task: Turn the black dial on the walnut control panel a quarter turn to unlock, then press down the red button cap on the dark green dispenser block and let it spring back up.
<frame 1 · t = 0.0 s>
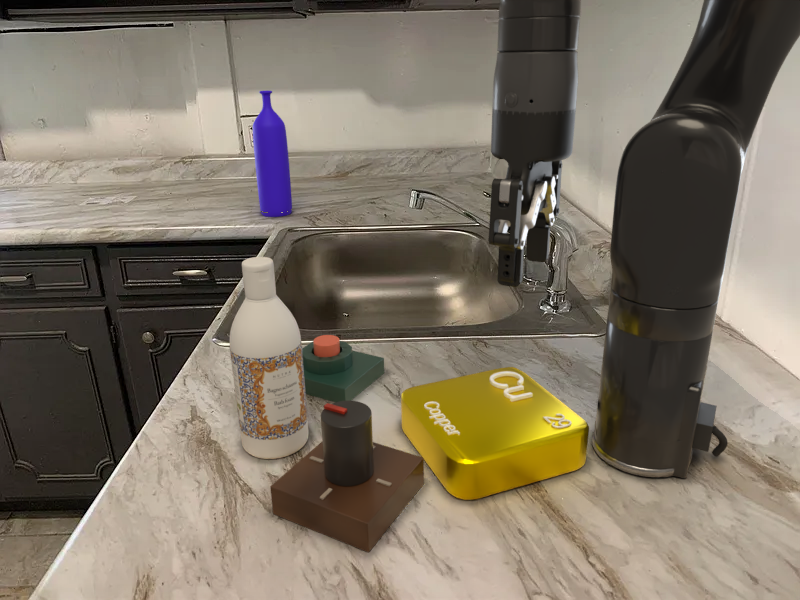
hand: (524, 272, 64), 17 cm above the worktop, tool pointing down, fingers open, 8 cm apart
element tile: (489, 445, 66), on the worktop
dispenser: (328, 378, 79), on the worktop
dial panel: (350, 498, 58), on the worktop
bottle: (276, 214, 163), on the worktop
bath foam: (276, 443, 67), on the worktop
red button cap: (326, 346, 78), point 4 cm above the worktop, slide at 0.1 cm
dial: (347, 441, 56), point 6 cm above the worktop, hinge at 0.0°
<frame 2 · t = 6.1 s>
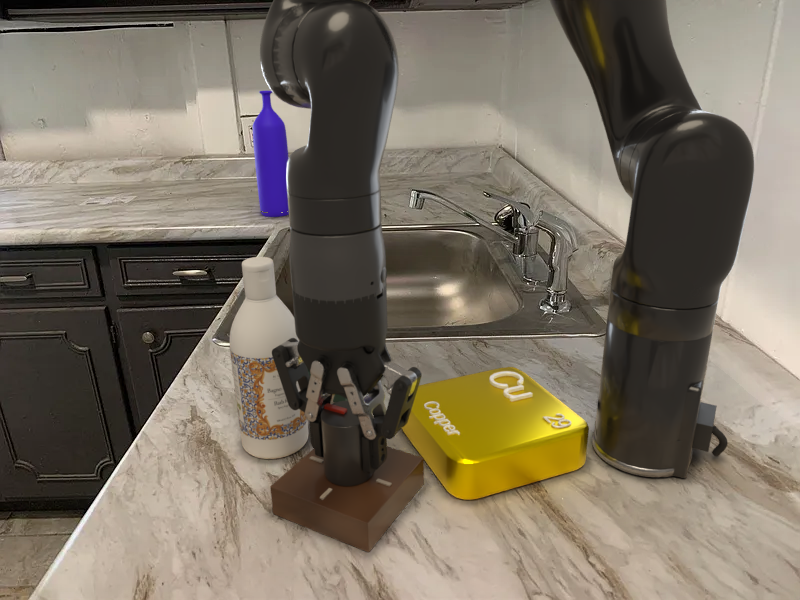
hand: (349, 459, 56), 4 cm above the worktop, tool pointing down, fingers closed on dial, 4 cm apart
dial: (347, 441, 56), point 6 cm above the worktop, hinge at 0.1°, touching gripper
everything else where it was.
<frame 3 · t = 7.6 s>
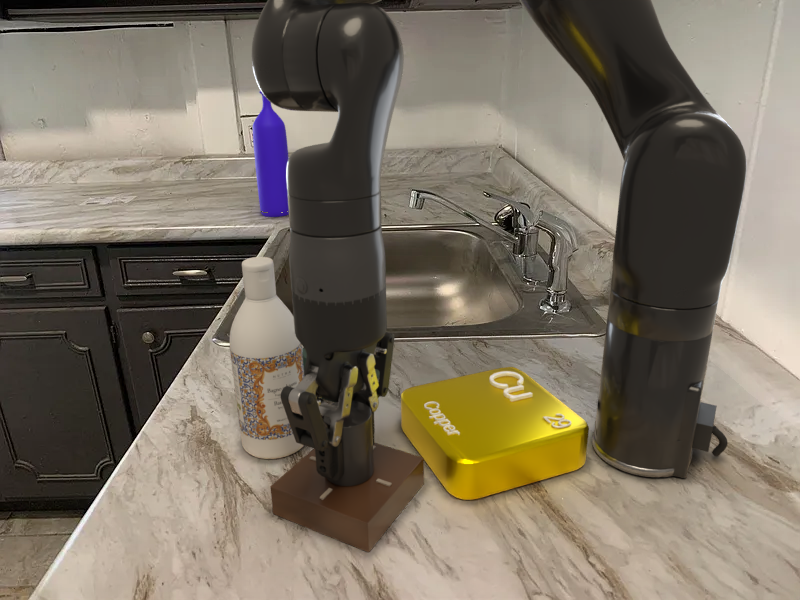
hand: (347, 459, 57), 4 cm above the worktop, tool pointing down, fingers open, 4 cm apart
dial: (347, 441, 56), point 6 cm above the worktop, hinge at 94.6°
everything else where it was.
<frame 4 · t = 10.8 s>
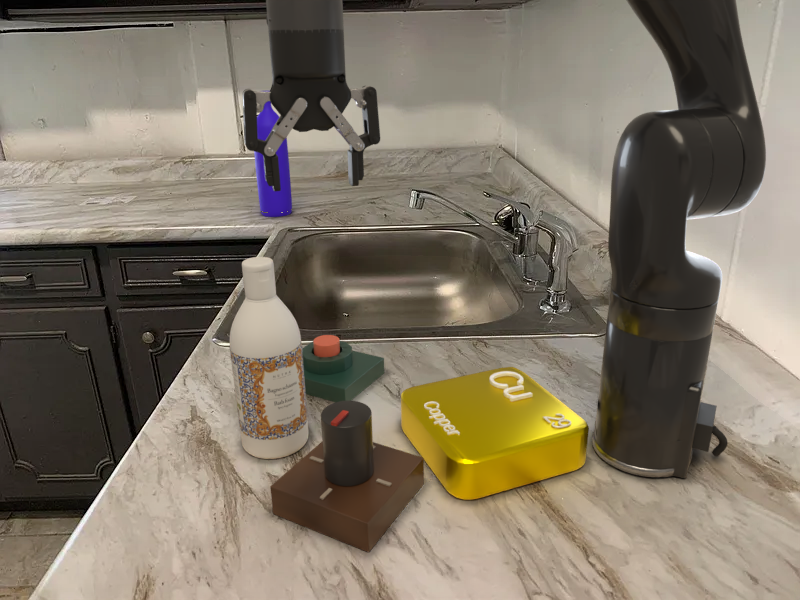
hand: (316, 187, 70), 24 cm above the worktop, tool pointing down, fingers open, 8 cm apart
nothing on the worktop moved.
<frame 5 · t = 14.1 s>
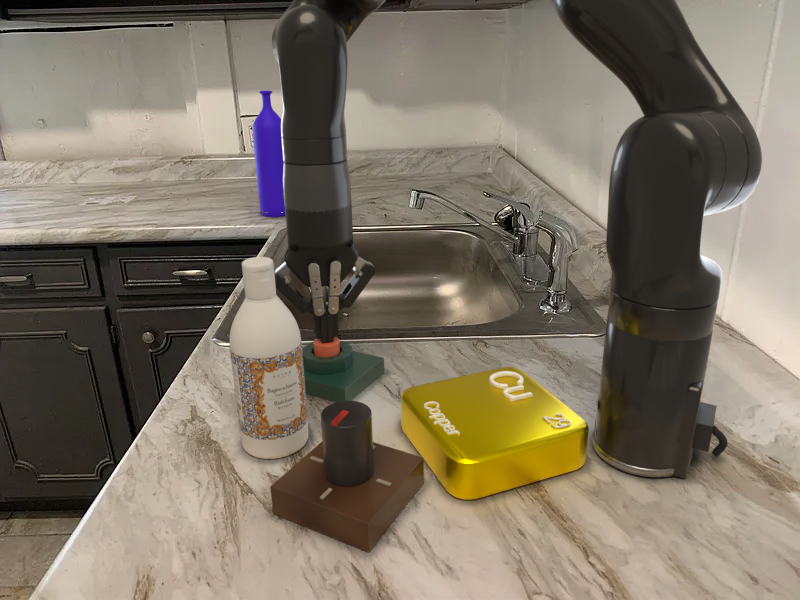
hand: (326, 339, 78), 5 cm above the worktop, tool pointing down, fingers closed
red button cap: (326, 347, 78), point 4 cm above the worktop, slide at 0.0 cm, touching gripper
everything else where it was.
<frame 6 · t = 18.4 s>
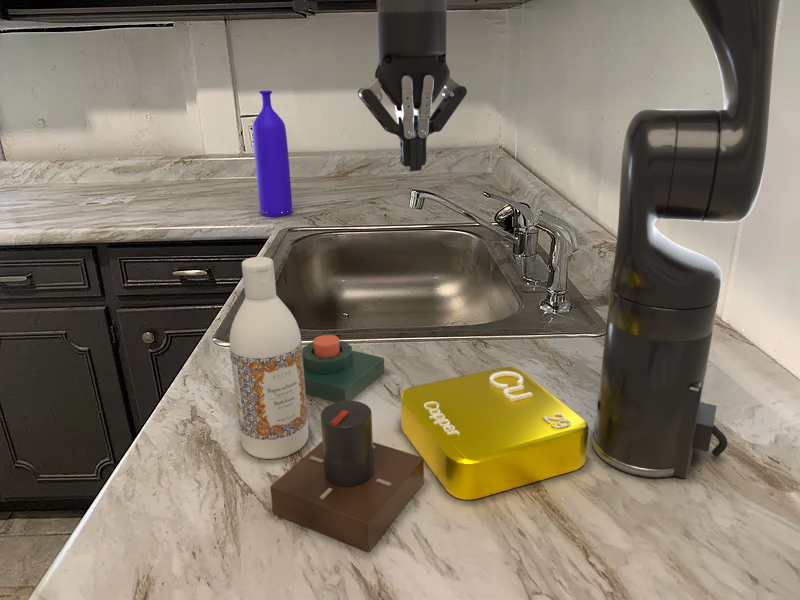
hand: (413, 169, 75), 25 cm above the worktop, tool pointing down, fingers closed
red button cap: (326, 346, 78), point 4 cm above the worktop, slide at 0.1 cm
everything else where it was.
at the end: dial at +95° (first picture: +0°); red button cap pushed in 1.1 cm at the most during the clip, back to where it started at the end; red button cap slide at 0.1 cm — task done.
